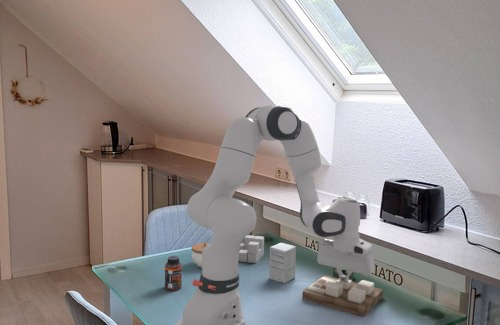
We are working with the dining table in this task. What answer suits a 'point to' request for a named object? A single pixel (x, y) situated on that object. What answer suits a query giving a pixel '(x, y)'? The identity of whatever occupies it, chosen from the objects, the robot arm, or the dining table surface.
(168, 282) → the supplement bottle
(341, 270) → the canned tomato
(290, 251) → the supplement box
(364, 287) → the button far right
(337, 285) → the button near left
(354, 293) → the button near right
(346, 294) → the button board
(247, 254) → the puzzle cube
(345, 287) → the button far left
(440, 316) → the dining table surface
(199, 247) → the lidded jar
